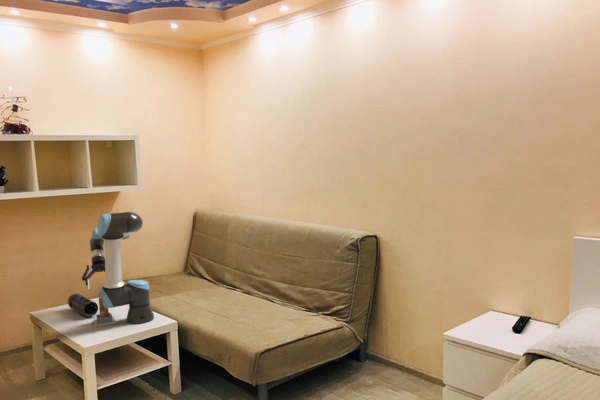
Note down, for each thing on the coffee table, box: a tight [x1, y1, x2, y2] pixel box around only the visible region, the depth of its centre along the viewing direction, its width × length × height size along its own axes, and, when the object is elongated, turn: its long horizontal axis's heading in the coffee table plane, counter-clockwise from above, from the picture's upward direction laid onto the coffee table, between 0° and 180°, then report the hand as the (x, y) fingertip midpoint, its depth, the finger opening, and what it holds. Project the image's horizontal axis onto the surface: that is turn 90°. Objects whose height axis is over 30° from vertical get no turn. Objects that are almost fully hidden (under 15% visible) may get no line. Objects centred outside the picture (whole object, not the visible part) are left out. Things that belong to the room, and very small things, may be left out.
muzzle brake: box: [67, 293, 99, 319], centre depth 304 cm, size 10×28×10 cm, turn 43°
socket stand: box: [93, 312, 116, 327], centre depth 285 cm, size 11×11×4 cm
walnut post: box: [98, 295, 110, 318], centre depth 285 cm, size 4×4×14 cm
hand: (101, 287), depth 291 cm, fingers open, 13 cm apart
